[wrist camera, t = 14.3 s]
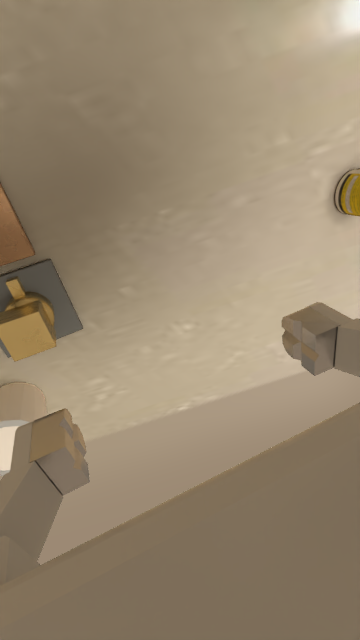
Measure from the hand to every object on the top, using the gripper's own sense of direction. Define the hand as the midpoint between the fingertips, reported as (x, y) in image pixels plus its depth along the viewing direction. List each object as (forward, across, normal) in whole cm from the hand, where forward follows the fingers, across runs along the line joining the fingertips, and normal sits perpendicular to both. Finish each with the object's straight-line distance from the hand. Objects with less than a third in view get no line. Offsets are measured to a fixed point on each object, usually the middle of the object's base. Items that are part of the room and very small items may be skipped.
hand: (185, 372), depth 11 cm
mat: (+23, +9, +5) cm, 26 cm away
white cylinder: (+23, +15, +15) cm, 31 cm away
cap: (+23, +9, +5) cm, 25 cm away
